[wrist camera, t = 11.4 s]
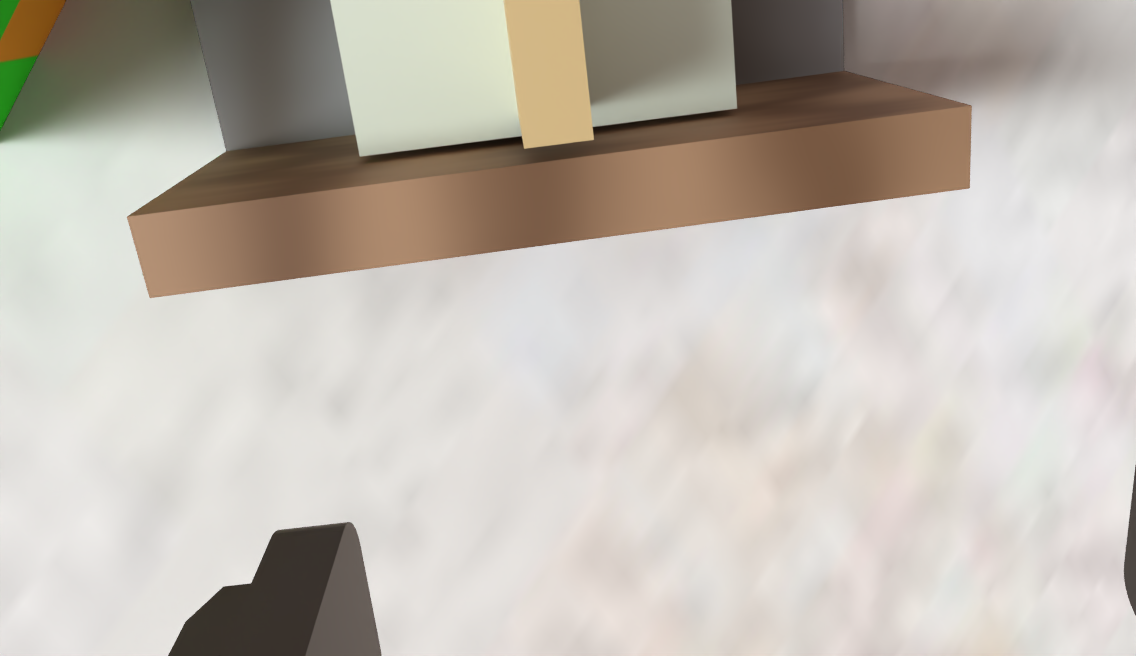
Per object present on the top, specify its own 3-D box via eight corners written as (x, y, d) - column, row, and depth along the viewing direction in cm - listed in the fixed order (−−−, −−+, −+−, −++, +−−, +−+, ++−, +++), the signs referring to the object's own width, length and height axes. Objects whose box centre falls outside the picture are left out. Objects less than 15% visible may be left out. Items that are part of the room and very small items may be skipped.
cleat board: (826, -241, 29) (982, -342, 20) (836, 154, 34) (968, 223, 24) (161, -160, 29) (3, -225, 20) (254, 231, 33) (159, 332, 24)
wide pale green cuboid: (682, -83, 30) (782, -114, 19) (693, 84, 31) (790, 137, 21) (354, -43, 29) (278, -53, 19) (383, 123, 31) (329, 197, 21)
